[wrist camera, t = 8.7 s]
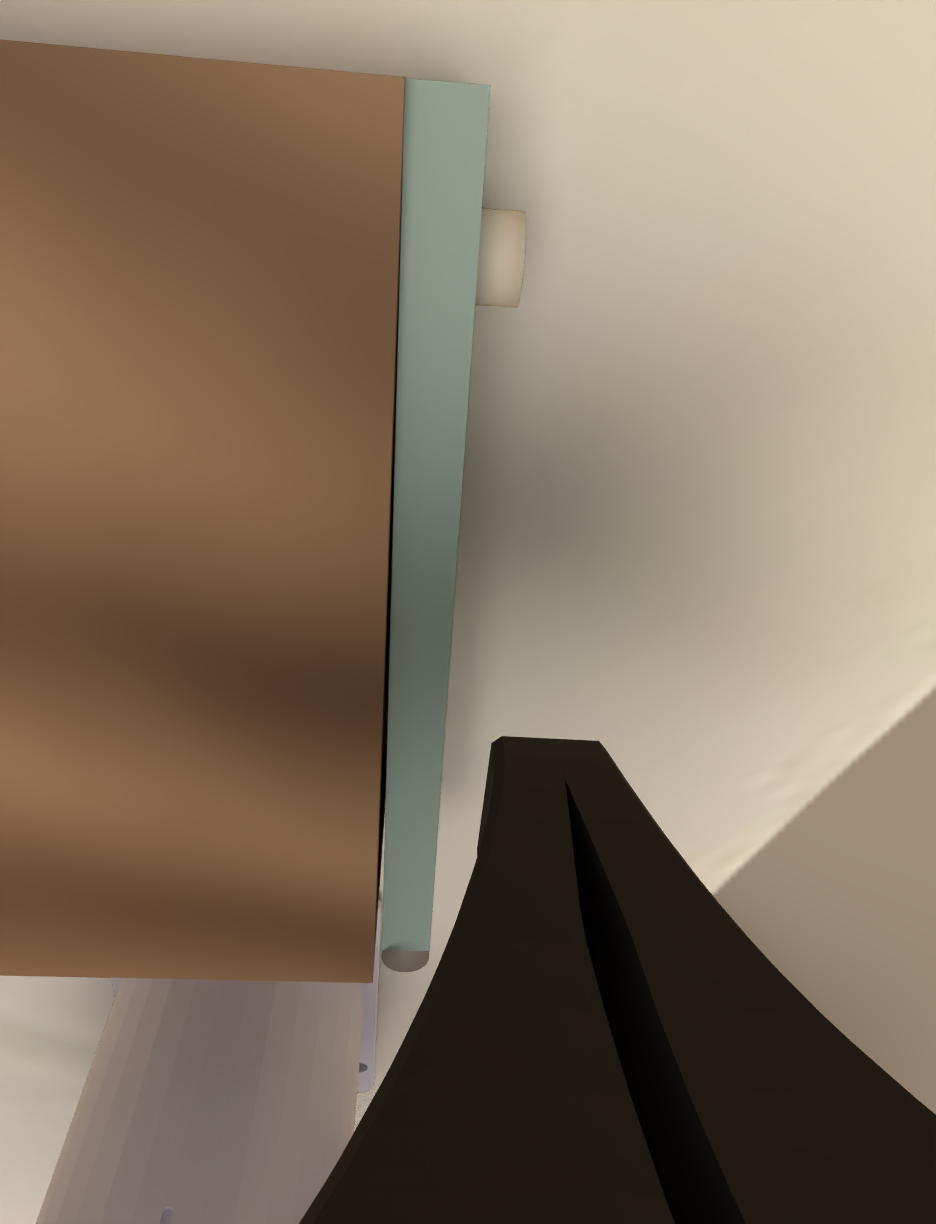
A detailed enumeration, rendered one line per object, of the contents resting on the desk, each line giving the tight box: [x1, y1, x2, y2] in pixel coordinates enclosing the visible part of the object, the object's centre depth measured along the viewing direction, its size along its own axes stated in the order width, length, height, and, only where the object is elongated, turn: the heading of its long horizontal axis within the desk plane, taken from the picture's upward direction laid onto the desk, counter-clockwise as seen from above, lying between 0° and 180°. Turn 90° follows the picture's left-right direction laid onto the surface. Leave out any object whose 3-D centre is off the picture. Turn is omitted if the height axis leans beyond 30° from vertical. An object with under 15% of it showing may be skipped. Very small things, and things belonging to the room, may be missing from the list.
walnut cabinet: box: [0, 40, 406, 983], centre depth 16 cm, size 16×11×6 cm
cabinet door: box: [382, 78, 526, 972], centre depth 17 cm, size 16×2×5 cm, turn 176°
